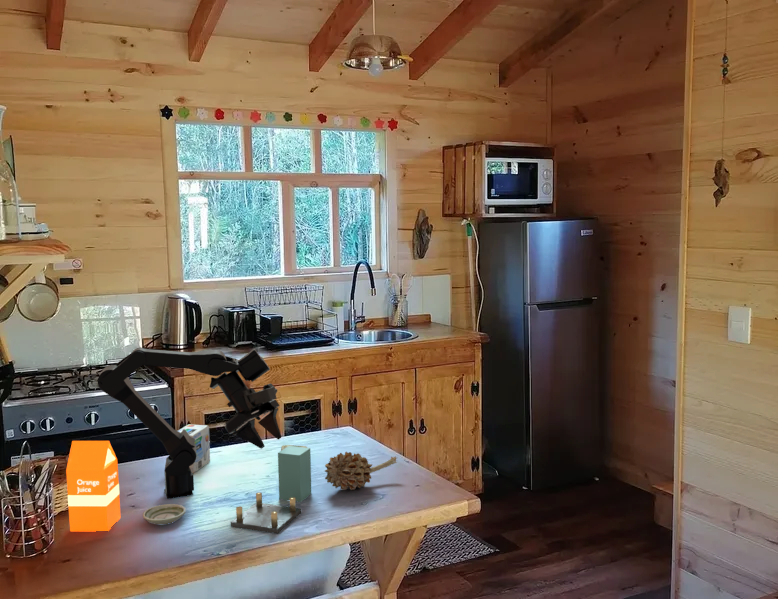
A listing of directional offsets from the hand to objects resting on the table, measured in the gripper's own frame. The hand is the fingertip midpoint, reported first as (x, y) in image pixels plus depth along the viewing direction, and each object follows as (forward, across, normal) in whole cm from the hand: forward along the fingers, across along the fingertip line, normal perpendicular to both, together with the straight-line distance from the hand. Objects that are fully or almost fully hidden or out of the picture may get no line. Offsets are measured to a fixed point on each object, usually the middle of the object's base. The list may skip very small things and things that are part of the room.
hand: (271, 442), depth 189 cm
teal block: (+14, +1, +4) cm, 15 cm away
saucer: (+1, -22, +22) cm, 31 cm away
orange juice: (-8, -28, +33) cm, 44 cm away
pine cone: (+23, +12, -7) cm, 27 cm away
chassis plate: (+15, -14, +4) cm, 21 cm away
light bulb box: (-10, +13, +33) cm, 37 cm away
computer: (+7, +25, +12) cm, 29 cm away
